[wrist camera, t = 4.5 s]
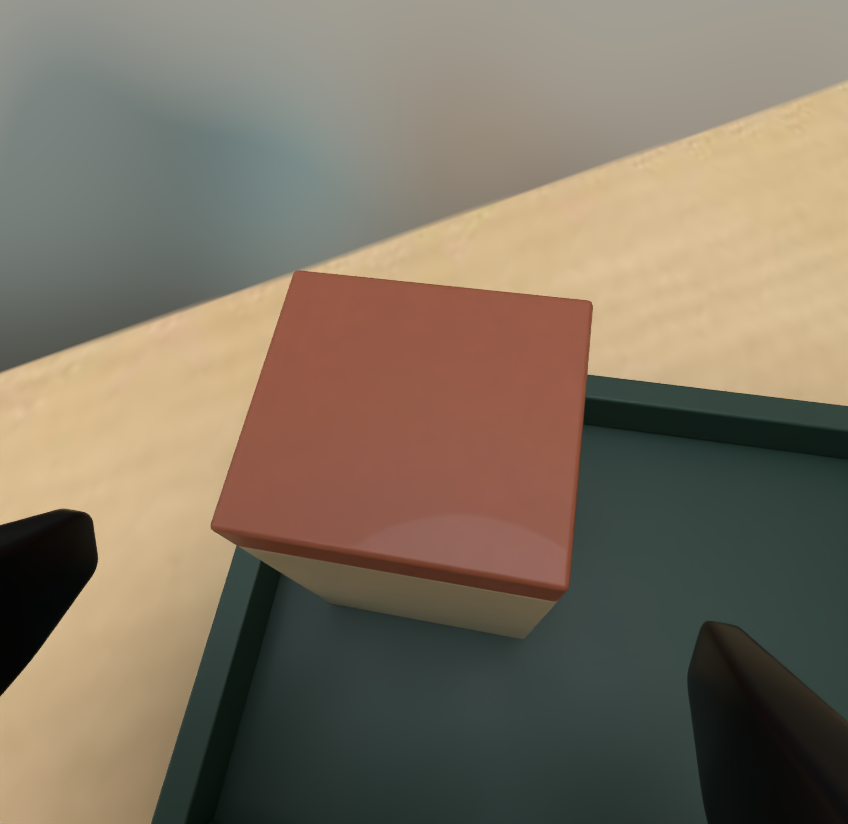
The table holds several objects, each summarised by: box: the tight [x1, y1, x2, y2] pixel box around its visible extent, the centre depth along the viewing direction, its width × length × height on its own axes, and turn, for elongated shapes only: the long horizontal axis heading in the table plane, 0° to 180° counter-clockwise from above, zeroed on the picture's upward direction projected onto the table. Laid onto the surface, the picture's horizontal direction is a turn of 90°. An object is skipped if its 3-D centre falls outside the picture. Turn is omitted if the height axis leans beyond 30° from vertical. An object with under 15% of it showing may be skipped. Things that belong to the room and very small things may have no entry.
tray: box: [151, 375, 848, 824], centre depth 16 cm, size 14×19×2 cm
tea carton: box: [211, 271, 593, 639], centre depth 14 cm, size 5×6×8 cm
